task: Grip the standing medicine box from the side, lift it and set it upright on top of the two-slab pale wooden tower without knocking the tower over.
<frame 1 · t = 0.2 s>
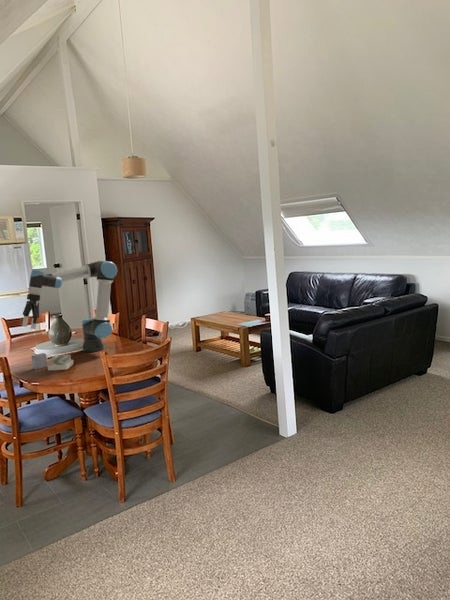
hand: (28, 327, 284), 27 cm above the table, tool tilted 15°, fingers open, 13 cm apart
tower top slab: (60, 362, 291), point 3 cm above the table, touching tower base slab
tower base slab: (61, 367, 291), on the table, touching tower top slab
medicine box: (40, 367, 292), on the table
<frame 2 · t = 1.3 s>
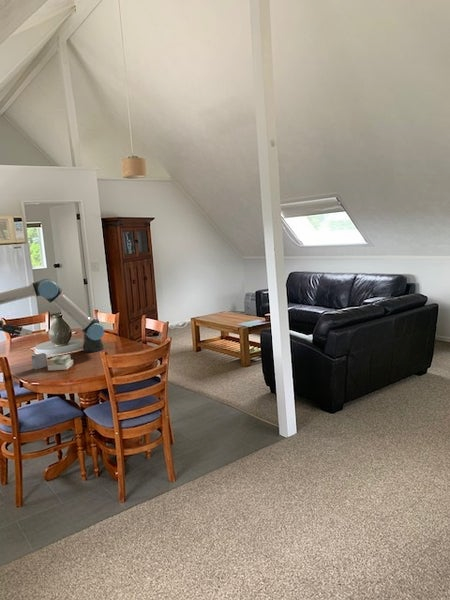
hand: (28, 333, 289), 23 cm above the table, tool tilted 70°, fingers open, 13 cm apart
tower top slab: (60, 362, 290), point 3 cm above the table
tower base slab: (61, 367, 291), on the table
everything else where it was.
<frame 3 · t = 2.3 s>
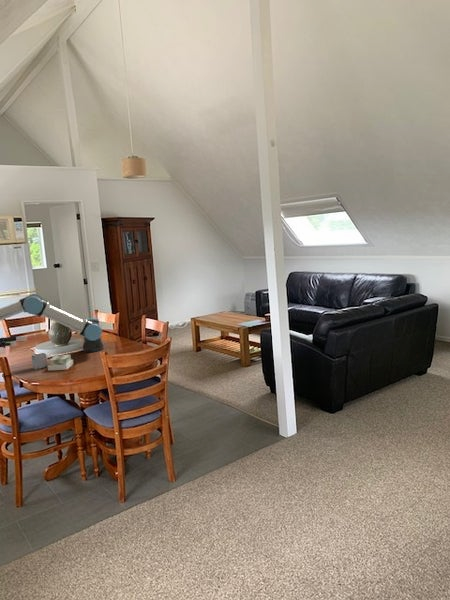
hand: (21, 341, 290), 18 cm above the table, tool horizontal, fingers open, 13 cm apart
tower top slab: (60, 362, 290), point 3 cm above the table, touching tower base slab
tower base slab: (61, 367, 291), on the table, touching tower top slab
everything else where it was.
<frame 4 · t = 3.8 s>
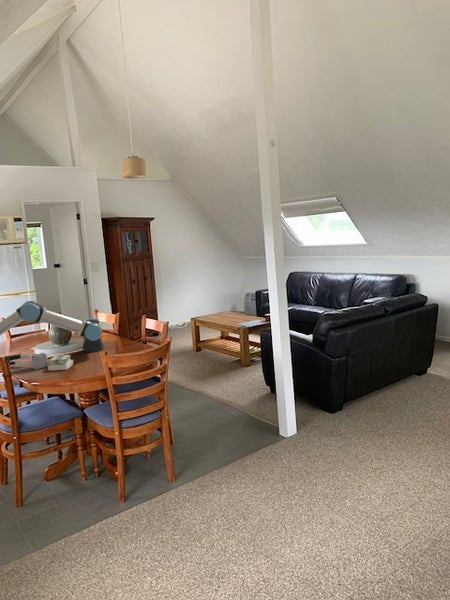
hand: (25, 359, 292), 6 cm above the table, tool horizontal, fingers open, 13 cm apart
nothing on the table moved.
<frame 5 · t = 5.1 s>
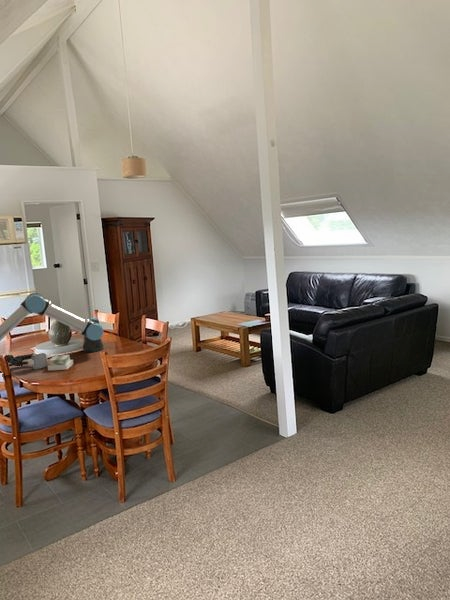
hand: (38, 359, 291), 6 cm above the table, tool horizontal, fingers open, 13 cm apart
nothing on the table moved.
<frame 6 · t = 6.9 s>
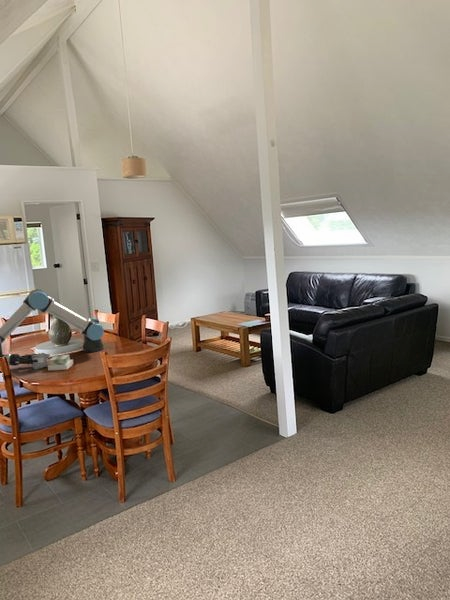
hand: (46, 358, 291), 6 cm above the table, tool horizontal, fingers closed on medicine box, 9 cm apart
medicine box: (40, 367, 292), on the table, touching gripper
everything else where it was.
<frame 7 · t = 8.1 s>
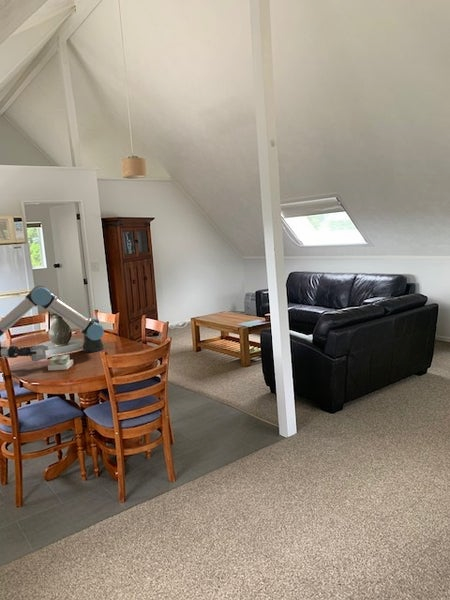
hand: (44, 350, 290), 11 cm above the table, tool horizontal, fingers closed on medicine box, 9 cm apart
medicine box: (39, 359, 292), point 5 cm above the table, touching gripper
everything else where it was.
when the fingers open (14 cm above the table, at t = 11.7 s): medicine box drops 2 cm, point 6 cm above the table.
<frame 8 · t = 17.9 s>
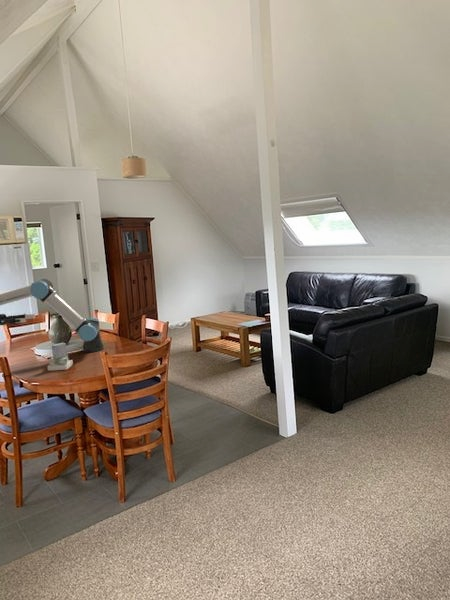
hand: (30, 318, 303), 30 cm above the table, tool horizontal, fingers open, 13 cm apart
tower top slab: (59, 363, 290), point 3 cm above the table
tower base slab: (60, 368, 291), on the table
medicine box: (60, 357, 290), point 6 cm above the table
at the end: medicine box 1.0 cm off-centre on the tower top slab, point 3.3 cm above the tower top slab's base; medicine box tilted 1°; tower top slab 0.4 cm off-centre on the tower base slab, point 3.5 cm above the tower base slab's base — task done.
